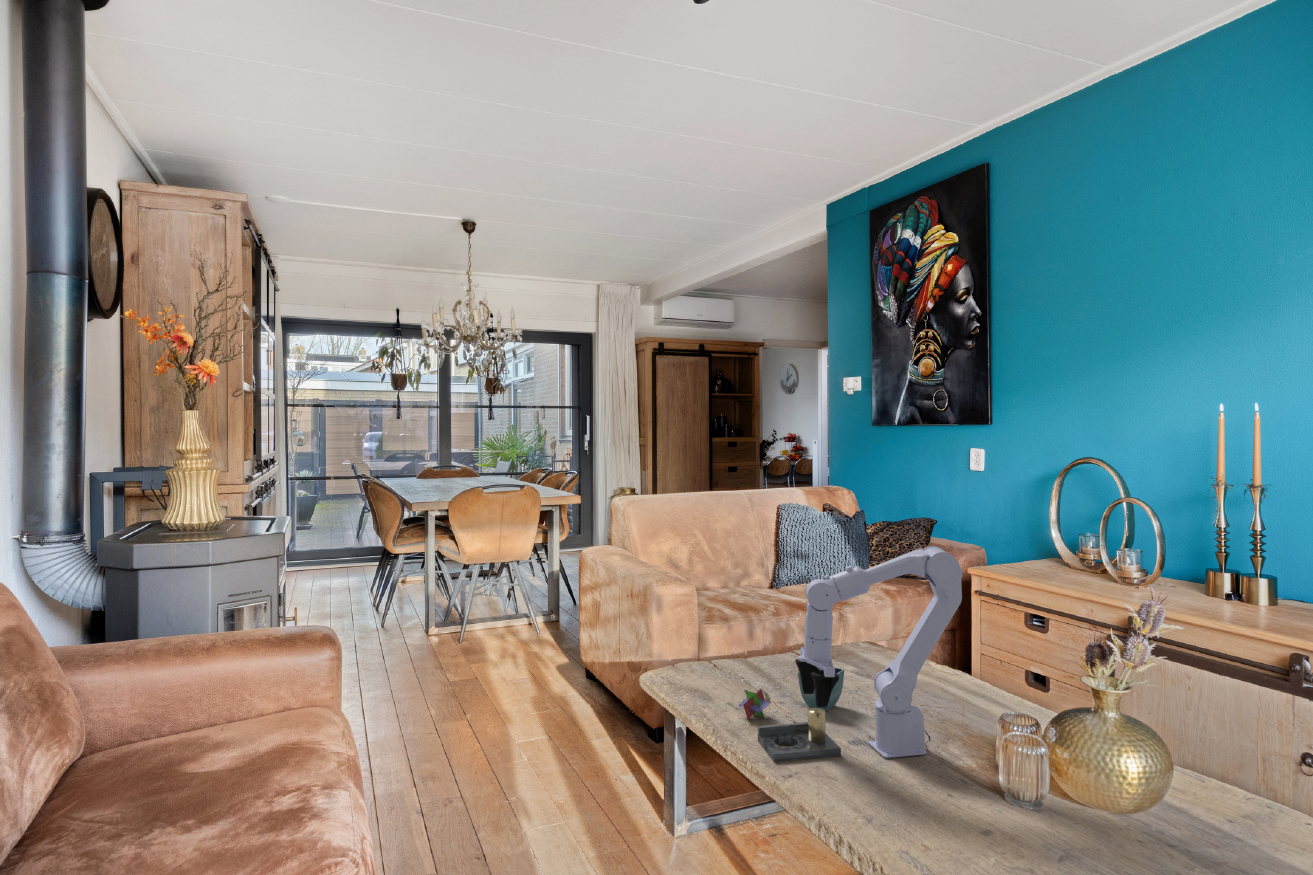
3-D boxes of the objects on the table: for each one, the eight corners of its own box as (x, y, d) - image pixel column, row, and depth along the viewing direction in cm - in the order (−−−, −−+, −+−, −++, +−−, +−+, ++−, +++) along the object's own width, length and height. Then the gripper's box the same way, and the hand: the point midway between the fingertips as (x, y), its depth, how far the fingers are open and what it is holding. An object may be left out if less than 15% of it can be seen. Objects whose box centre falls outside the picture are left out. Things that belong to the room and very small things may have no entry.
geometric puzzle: (749, 717, 171) (763, 685, 174) (728, 709, 176) (742, 678, 179) (767, 730, 174) (780, 698, 178) (745, 721, 180) (758, 690, 183)
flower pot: (831, 716, 177) (830, 678, 177) (797, 708, 182) (796, 671, 182) (845, 705, 184) (845, 668, 184) (812, 698, 189) (812, 662, 189)
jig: (820, 735, 165) (820, 720, 165) (841, 755, 154) (840, 740, 155) (757, 740, 163) (757, 726, 163) (774, 762, 152) (773, 746, 152)
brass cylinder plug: (821, 734, 162) (821, 707, 162) (828, 741, 158) (827, 713, 158) (806, 736, 161) (805, 708, 161) (812, 742, 157) (811, 714, 157)
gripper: (788, 627, 166) (785, 687, 166) (813, 646, 151) (809, 712, 151) (818, 627, 167) (815, 687, 167) (845, 646, 153) (842, 712, 153)
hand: (814, 699), depth 159 cm, fingers open, 7 cm apart
